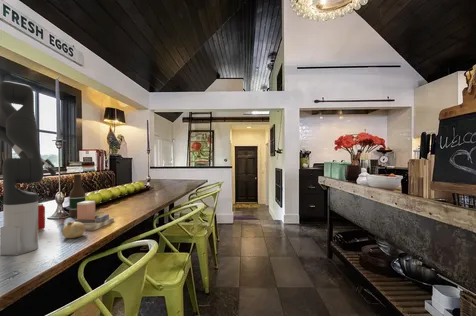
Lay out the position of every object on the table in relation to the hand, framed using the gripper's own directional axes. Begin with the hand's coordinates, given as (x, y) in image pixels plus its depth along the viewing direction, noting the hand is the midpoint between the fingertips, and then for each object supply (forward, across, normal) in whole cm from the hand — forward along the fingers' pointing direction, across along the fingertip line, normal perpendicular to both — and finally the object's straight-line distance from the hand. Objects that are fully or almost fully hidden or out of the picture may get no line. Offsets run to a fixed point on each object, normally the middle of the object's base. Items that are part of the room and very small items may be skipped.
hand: (48, 175), depth 119 cm
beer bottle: (+19, +17, +16) cm, 30 cm away
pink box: (+30, 0, +1) cm, 30 cm away
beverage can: (+21, -11, +14) cm, 28 cm away
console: (+34, -1, +1) cm, 34 cm away
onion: (+38, -18, -3) cm, 42 cm away
